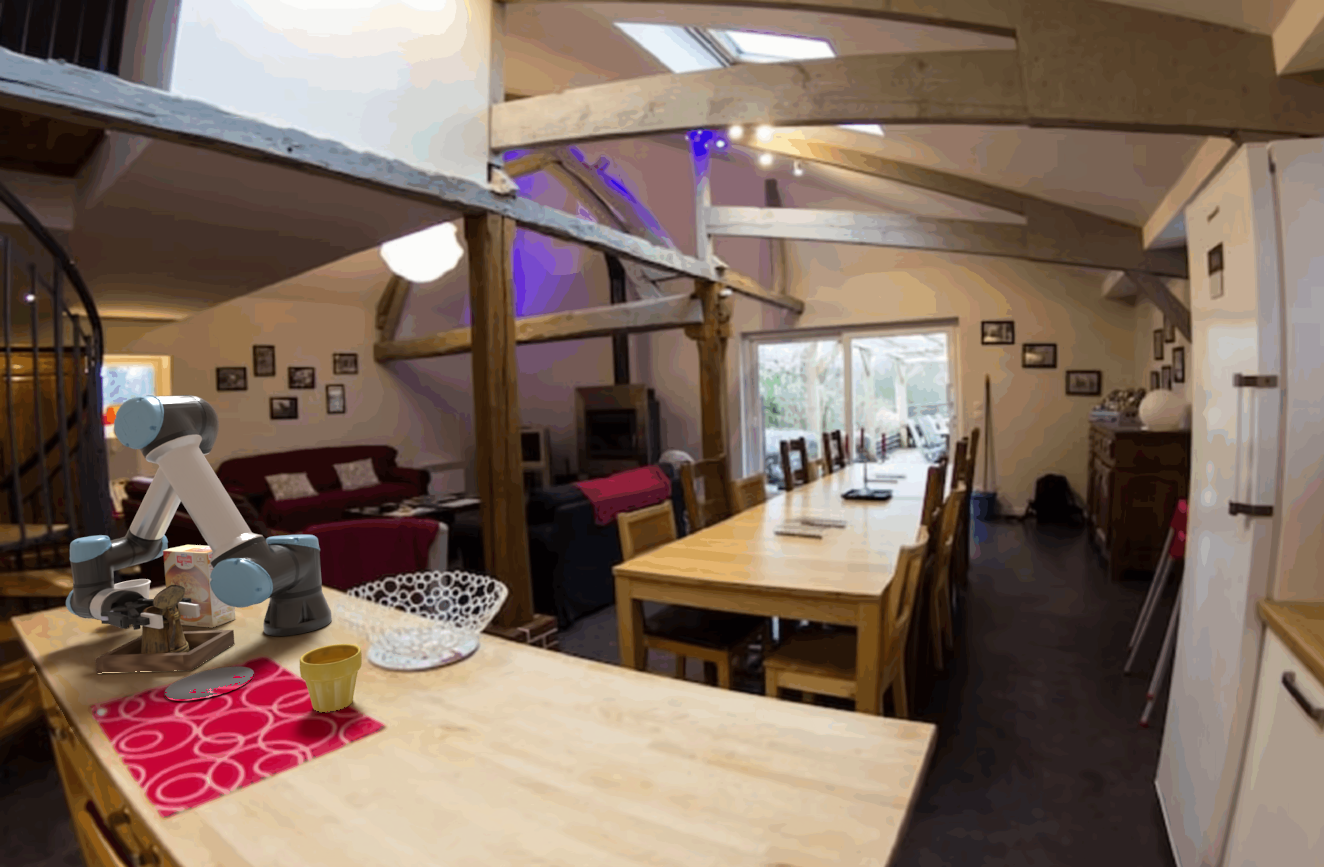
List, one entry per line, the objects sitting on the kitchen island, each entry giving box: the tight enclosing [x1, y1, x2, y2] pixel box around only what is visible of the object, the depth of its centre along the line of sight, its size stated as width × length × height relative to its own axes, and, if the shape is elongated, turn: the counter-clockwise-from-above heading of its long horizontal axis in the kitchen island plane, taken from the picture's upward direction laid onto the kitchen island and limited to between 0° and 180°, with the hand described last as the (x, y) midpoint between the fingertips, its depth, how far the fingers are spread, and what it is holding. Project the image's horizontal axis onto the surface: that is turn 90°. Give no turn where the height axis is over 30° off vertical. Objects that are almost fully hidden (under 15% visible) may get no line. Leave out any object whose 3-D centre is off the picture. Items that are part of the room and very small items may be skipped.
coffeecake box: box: [162, 544, 237, 629], centre depth 176 cm, size 15×7×20 cm, turn 73°
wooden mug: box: [140, 585, 190, 654], centre depth 151 cm, size 9×14×18 cm, turn 55°
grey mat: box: [164, 665, 255, 699], centre depth 137 cm, size 15×15×1 cm
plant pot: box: [299, 643, 363, 713], centre depth 126 cm, size 10×10×10 cm
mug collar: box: [94, 629, 236, 674], centre depth 152 cm, size 20×15×4 cm
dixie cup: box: [114, 578, 152, 599], centre depth 180 cm, size 8×8×10 cm
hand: (179, 616), depth 150 cm, fingers closed on wooden mug, 7 cm apart
